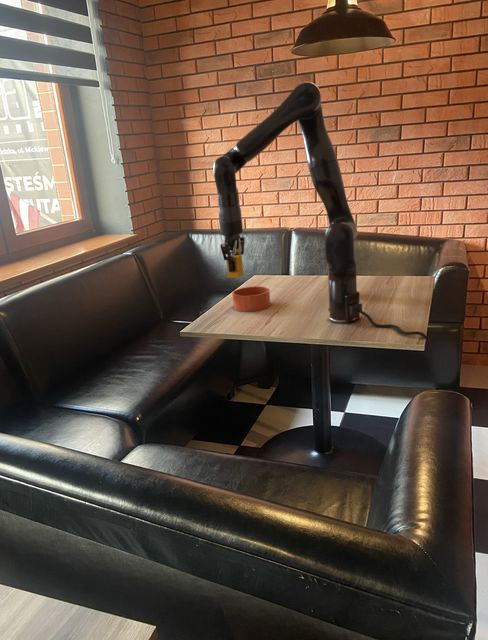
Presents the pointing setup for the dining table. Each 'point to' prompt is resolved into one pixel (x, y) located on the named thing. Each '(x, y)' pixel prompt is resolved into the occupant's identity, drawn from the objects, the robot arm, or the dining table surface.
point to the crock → (251, 298)
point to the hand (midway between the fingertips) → (235, 269)
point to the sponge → (238, 267)
